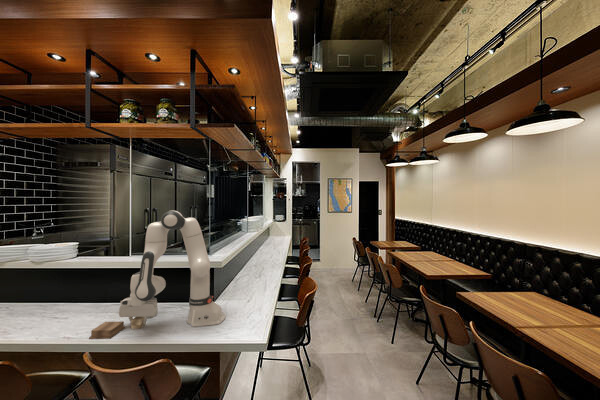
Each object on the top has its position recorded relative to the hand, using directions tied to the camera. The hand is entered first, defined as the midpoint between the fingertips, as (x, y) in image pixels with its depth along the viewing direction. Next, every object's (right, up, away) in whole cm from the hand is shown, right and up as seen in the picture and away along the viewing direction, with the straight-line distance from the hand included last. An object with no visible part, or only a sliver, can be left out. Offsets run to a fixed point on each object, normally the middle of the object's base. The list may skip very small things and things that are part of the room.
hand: (138, 323), depth 141 cm
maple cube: (0, -2, 0) cm, 2 cm away
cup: (-3, -2, +14) cm, 14 cm away
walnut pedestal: (-12, -1, -8) cm, 14 cm away
